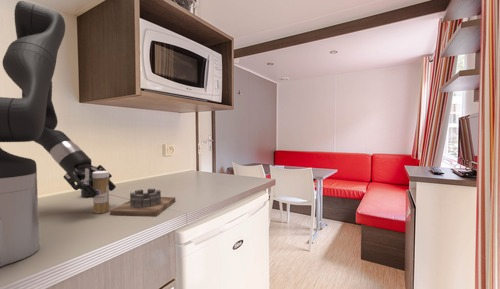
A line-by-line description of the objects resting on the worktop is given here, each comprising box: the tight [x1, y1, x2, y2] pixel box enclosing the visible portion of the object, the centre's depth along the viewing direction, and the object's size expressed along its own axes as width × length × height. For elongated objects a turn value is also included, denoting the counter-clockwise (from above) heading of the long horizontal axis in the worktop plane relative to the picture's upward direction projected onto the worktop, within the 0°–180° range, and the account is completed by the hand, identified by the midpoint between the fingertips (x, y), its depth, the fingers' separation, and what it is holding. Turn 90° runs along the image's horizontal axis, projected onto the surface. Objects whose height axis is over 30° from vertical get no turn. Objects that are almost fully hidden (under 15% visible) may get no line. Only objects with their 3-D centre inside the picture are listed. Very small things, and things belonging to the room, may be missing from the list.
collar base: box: [109, 188, 176, 217], centre depth 78 cm, size 16×15×6 cm
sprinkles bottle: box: [92, 170, 110, 214], centre depth 73 cm, size 5×5×14 cm
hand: (105, 192), depth 73 cm, fingers open, 8 cm apart
